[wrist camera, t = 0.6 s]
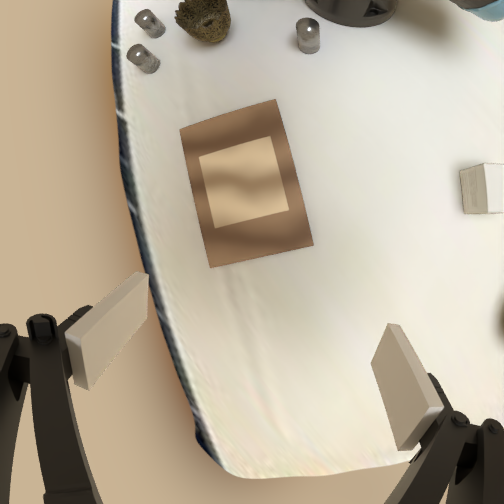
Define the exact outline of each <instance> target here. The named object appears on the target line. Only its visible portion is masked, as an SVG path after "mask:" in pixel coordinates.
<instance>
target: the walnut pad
mask: <svg viewBox="0 0 504 504" xmlns="http://www.w3.org/2000/svg"><path fill="white" fill-rule="evenodd" d="M179 130H180V135H181V140H182V145H183V150H184V155H185V160H186V164H187V169H188V174H189V179H190V183H191V188H192V193H193V197H194V202H195V206H196V211H197V215H198V219H199V224H200V228H201V232H202V237H203V241H204V245H205V249H206V253H207V257H208V262H209V266H210V268H213V267H218V266H222V265H227V264H232V263H236V262H241V261H245V260H250V259H254V258H259V257H263V256H268V255H273V254H277V253H282V252H286V251H291V250H295V249H300V248H304V247H309V246H313V245H314V244H313V240H312V236H311V231H310V227H309V223H308V218H307V214H306V210H305V206H304V202H303V198H302V194H301V190H300V186H299V182H298V178H297V174H296V170H295V166H294V162H293V159H292V155H291V151H290V148H289V144H288V140H287V137H286V133H285V130H284V126H283V123H282V119H281V116H280V112H279V109H278V105H277V102H276V99H274V100H270V101H267V102H263V103H259V104H256V105H252V106H249V107H245V108H242V109H239V110H235V111H232V112H229V113H226V114H223V115H220V116H216V117H213V118H210V119H208V120H205V121H202V122H199V123H196V124H193V125H190V126H188V127H185V128H182V129H179Z"/></svg>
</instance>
